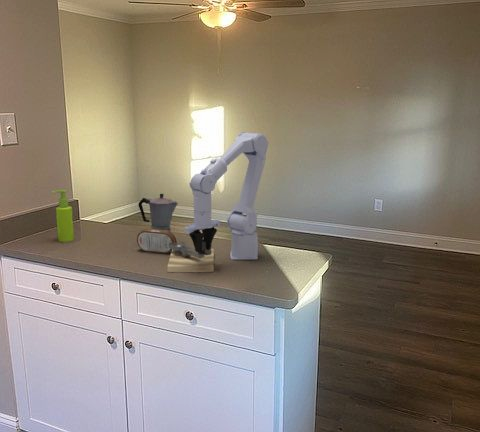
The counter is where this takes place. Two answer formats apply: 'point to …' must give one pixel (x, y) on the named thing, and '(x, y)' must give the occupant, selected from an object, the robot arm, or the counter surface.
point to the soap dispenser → (64, 219)
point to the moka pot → (159, 212)
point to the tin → (155, 240)
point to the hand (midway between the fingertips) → (202, 250)
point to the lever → (188, 249)
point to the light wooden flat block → (191, 262)
